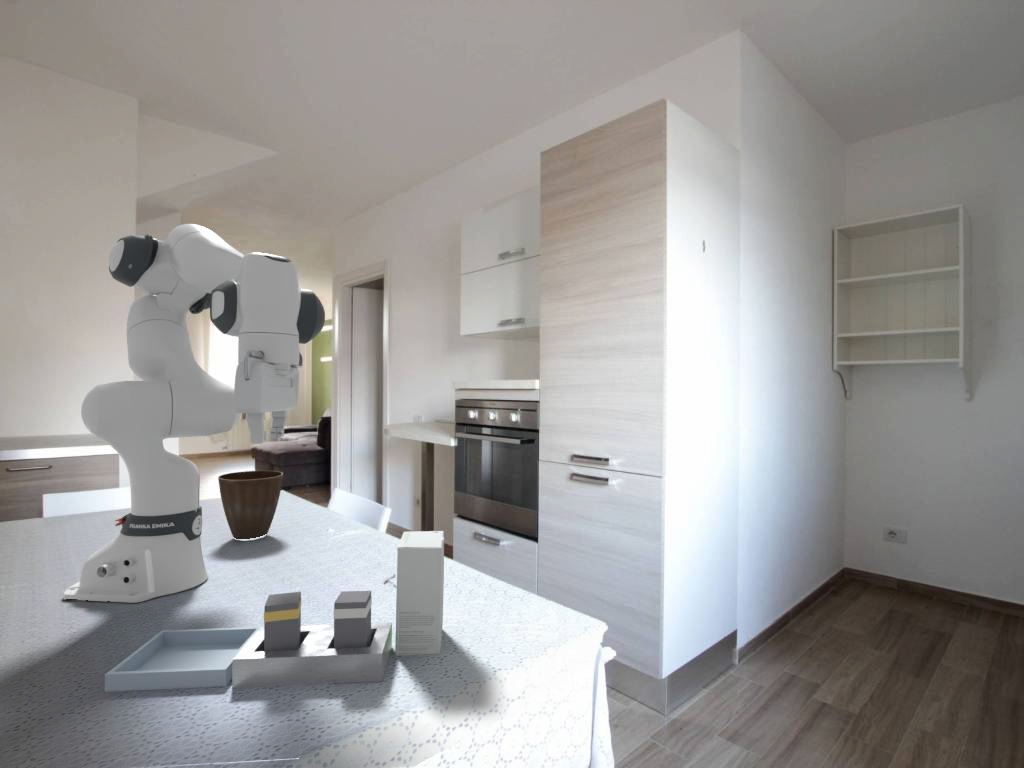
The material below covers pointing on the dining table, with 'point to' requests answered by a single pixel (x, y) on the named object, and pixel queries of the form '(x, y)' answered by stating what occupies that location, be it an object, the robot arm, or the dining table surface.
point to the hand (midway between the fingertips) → (268, 440)
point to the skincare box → (419, 593)
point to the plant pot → (250, 501)
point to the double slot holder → (313, 660)
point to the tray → (181, 660)
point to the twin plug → (352, 619)
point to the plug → (282, 622)
